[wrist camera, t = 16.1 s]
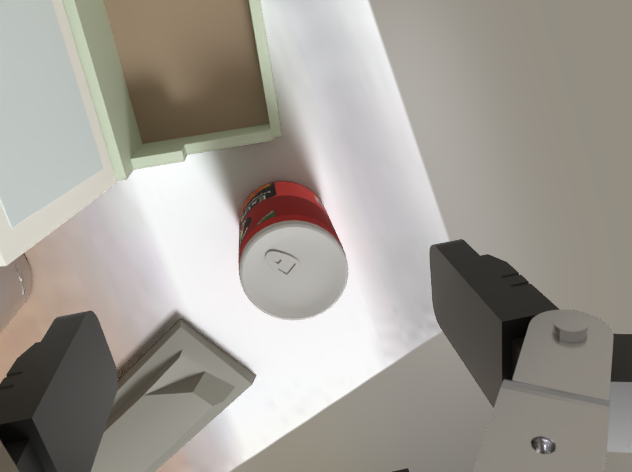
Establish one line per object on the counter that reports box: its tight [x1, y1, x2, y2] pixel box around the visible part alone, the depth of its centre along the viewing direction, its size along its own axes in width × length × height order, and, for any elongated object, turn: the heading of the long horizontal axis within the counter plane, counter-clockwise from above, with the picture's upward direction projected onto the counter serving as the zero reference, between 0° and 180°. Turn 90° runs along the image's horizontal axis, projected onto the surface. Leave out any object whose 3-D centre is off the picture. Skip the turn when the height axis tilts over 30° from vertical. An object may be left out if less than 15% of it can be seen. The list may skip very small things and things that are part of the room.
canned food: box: [239, 181, 348, 320], centre depth 42 cm, size 8×8×11 cm
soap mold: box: [91, 319, 256, 472], centre depth 52 cm, size 10×20×4 cm, turn 134°
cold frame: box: [62, 0, 282, 181], centre depth 36 cm, size 12×16×8 cm
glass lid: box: [0, 0, 117, 267], centre depth 26 cm, size 12×16×1 cm
